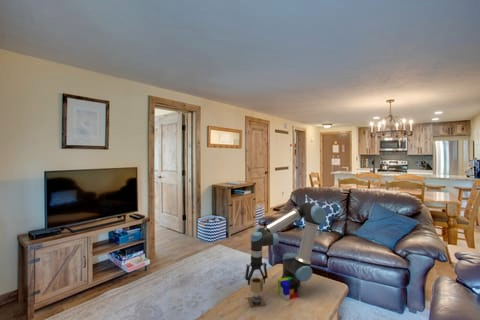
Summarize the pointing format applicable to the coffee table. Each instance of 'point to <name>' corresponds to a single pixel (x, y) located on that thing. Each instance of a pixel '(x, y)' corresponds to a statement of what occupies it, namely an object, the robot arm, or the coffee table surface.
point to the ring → (256, 285)
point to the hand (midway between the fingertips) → (256, 288)
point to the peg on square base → (256, 301)
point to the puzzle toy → (287, 288)
